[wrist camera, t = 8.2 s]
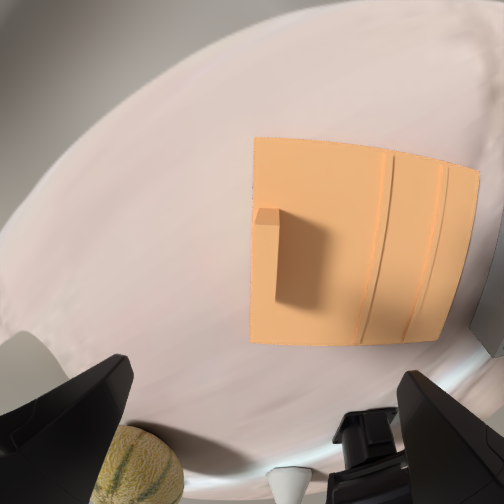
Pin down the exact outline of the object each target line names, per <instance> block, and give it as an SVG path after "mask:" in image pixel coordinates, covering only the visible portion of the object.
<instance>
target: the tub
mask: <svg viewBox="0 0 504 504" xmlns="http://www.w3.org/2000/svg"><path fill="white" fill-rule="evenodd" d="M469 329H470V330H471V331H472V332H473V334H474V335H475V336H476V337H477V339H478V340H479V341H480V342H481V344H482V345H483V346H484V347H485V349H486V350H487V351H488V353H489V354H490V355H491V356H492V358H497V357H500V356H504V209H503V216H502V221H501V226H500V231H499V236H498V241H497V245H496V249H495V253H494V257H493V261H492V264H491V268H490V271H489V275H488V278H487V281H486V284H485V287H484V290H483V293H482V296H481V299H480V302H479V304H478V307H477V310H476V312H475V315H474V317H473V320H472V322H471V324H470V327H469Z"/></svg>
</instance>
